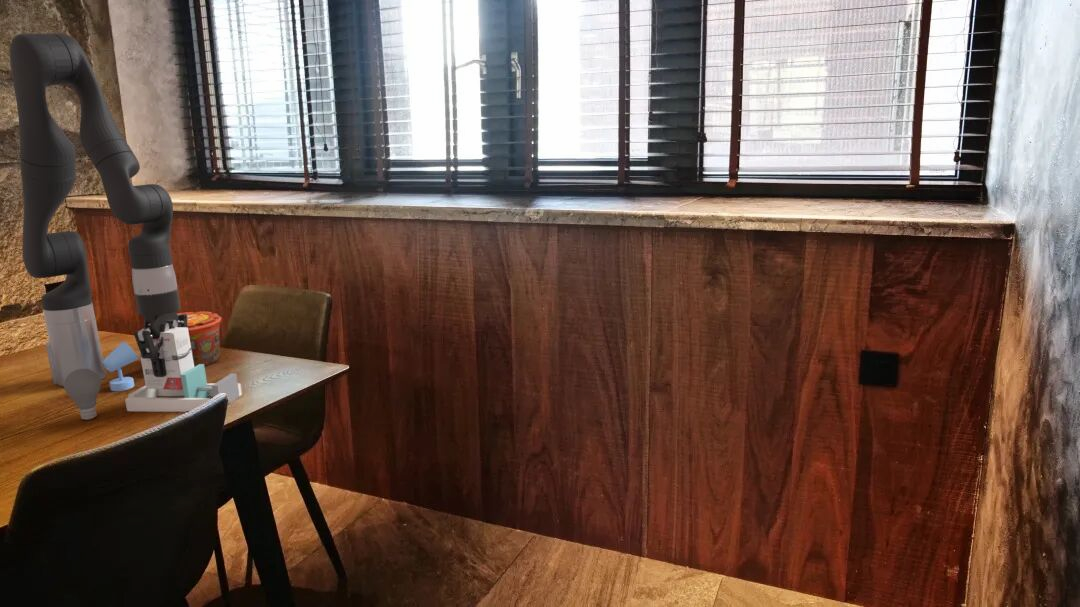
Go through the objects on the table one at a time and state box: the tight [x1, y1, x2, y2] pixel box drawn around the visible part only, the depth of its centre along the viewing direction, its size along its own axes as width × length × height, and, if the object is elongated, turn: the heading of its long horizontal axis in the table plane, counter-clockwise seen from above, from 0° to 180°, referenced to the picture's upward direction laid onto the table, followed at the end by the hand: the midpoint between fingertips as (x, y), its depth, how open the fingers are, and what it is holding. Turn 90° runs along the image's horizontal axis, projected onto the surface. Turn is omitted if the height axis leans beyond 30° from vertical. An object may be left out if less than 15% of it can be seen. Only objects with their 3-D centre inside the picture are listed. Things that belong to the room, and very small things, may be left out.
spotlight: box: [102, 340, 140, 392], centre depth 157 cm, size 5×10×7 cm
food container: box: [177, 310, 223, 367], centre depth 173 cm, size 16×16×11 cm
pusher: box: [181, 364, 212, 398], centre depth 146 cm, size 5×7×7 cm
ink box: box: [138, 327, 194, 390], centre depth 145 cm, size 9×5×12 cm, turn 78°
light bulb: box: [63, 369, 102, 421], centre depth 140 cm, size 6×6×10 cm
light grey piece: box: [124, 372, 243, 413], centre depth 147 cm, size 19×9×5 cm, turn 84°
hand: (169, 371), depth 146 cm, fingers closed on ink box, 5 cm apart
